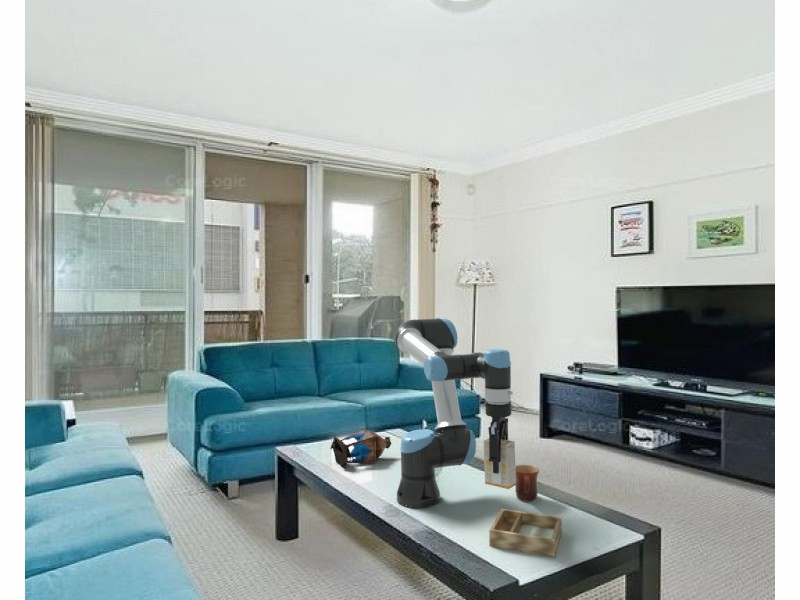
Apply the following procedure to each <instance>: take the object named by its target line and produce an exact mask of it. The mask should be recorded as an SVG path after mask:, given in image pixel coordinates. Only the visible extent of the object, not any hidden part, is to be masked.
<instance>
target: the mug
mask: <svg viewBox="0 0 800 600" xmlns="http://www.w3.org/2000/svg"><path fill="white" fill-rule="evenodd" d="M515 469H516V485H515V497H516V498H517V499H518V500H520V501H522V502H533V501H535V500H536V499H537V498H538V493H539V492H538V477H539V473H540V469H539V467H537V466H535V465H532V464H531V465H530V464H520V465H519V464H518V465H515Z"/></svg>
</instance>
